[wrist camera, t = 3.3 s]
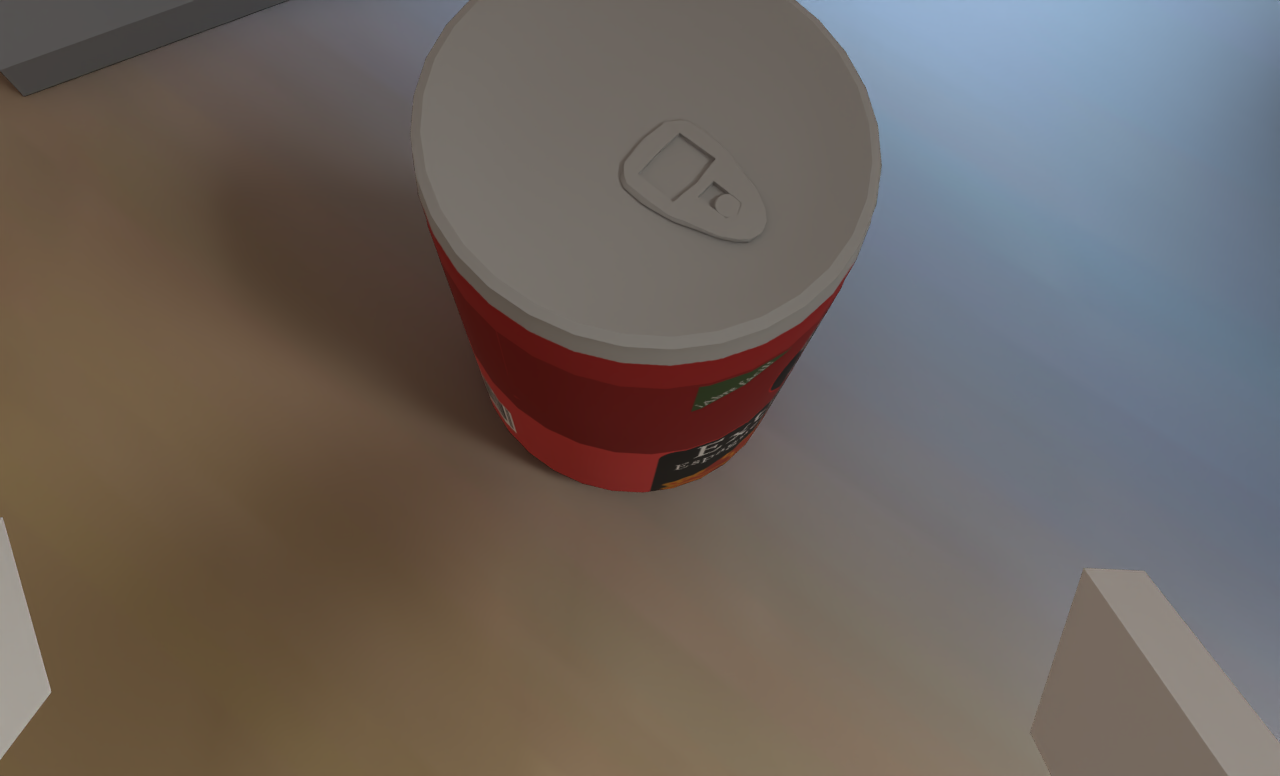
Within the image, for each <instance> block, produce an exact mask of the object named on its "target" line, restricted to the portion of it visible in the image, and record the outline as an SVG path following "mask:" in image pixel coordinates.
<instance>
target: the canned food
mask: <svg viewBox="0 0 1280 776" xmlns="http://www.w3.org/2000/svg"><path fill="white" fill-rule="evenodd" d="M410 138H411V145H412V152H413V153H412V155H413V162H414V169H415V176H416V183H417V190H418V195H419V198H420V201H421V204H422V207H423V210H424V213H425V215H426V219H427V224H428V228H429V231H430V233H431V236H432V239H433V242H434V245H435V247H436V250H437V253H438V256H439V258H440V261H441V264H442V267H443V269H444V272H445V275H446V278H447V280H448V283H449V286H450V289H451V292H452V294H453V297H454V300H455V303H456V305H457V308H458V311H459V314H460V316H461V319H462V322H463V325H464V327H465V330H466V333H467V336H468V339H469V341H470V344H471V347H472V350H473V352H474V355H475V358H476V361H477V363H478V366H479V369H480V372H481V375H482V377H483V380H484V383H485V385H486V388H487V391H488V393H489V396H490V399H491V401H492V404H493V406H494V408H495V410H496V411H497V413H498V414H499V416H500V418H501V419H502V421H503V422H504V424H505V425H506V427H507V429H508V430H509V432H510V433H511V434H512V435H513V436H514V437H515V438H516V439H517V440H518V441H519V442H520V443H521V444H522V445H523V446H524V447H525V448H526V449H527V451H528V452H529V453H531V454H532V455H533V456H535V457H536V458H538V459H539V460H540V461H542V462H543V463H545V464H546V465H547V466H549V467H550V468H552V469H553V470H555V471H557V472H559V473H561V474H563V475H565V476H568V477H570V478H572V479H574V480H576V481H578V482H581V483H583V484H587V485H591V486H595V487H599V488H603V489H607V490H611V491H627V492H649V491H656V490H663V489H670V488H674V487H677V486H680V485H683V484H686V483H689V482H691V481H694V480H697V479H700V478H702V477H703V476H705V475H707V474H708V473H710V472H712V471H713V470H715V469H717V468H718V467H720V466H722V465H723V464H725V463H726V462H727V461H728V460H729V459H730V458H731V457H732V456H733V455H734V454H736V453H737V452H738V451H739V450H740V449H741V448H742V447H743V446H744V445H745V444H746V443H747V441H748V440H749V438H750V437H751V435H752V434H753V432H754V431H755V429H756V428H757V426H758V425H759V424H760V422H761V420H762V419H763V417H764V415H765V414H766V412H767V411H768V409H769V407H770V406H771V404H772V402H773V401H774V399H775V397H776V396H777V394H778V392H779V391H780V389H781V387H782V386H783V384H784V382H785V381H786V379H787V377H788V376H789V374H790V372H791V371H792V369H793V367H794V366H795V364H796V362H797V361H798V359H799V357H800V356H801V354H802V352H803V351H804V349H805V347H806V346H807V344H808V342H809V341H810V339H811V337H812V336H813V334H814V332H815V331H816V329H817V327H818V326H819V324H820V322H821V321H822V319H823V317H824V316H825V314H826V313H827V311H828V309H829V308H830V306H831V304H832V303H833V301H834V299H835V298H836V296H837V294H838V293H839V291H840V289H841V287H842V285H843V282H844V280H845V278H846V276H847V275H848V273H849V271H850V270H851V268H852V266H853V264H854V263H855V261H856V259H857V256H858V254H859V251H860V249H861V246H862V244H863V241H864V238H865V236H866V233H867V231H868V228H869V226H870V223H871V217H872V214H873V212H874V209H875V207H876V203H877V195H878V188H879V181H880V174H881V166H882V164H881V154H880V143H879V132H878V125H877V121H876V118H875V115H874V112H873V109H872V106H871V103H870V99H869V96H868V93H867V90H866V87H865V85H864V84H863V82H862V80H861V78H860V77H859V75H858V73H857V71H856V69H855V68H854V66H853V64H852V62H851V60H850V59H849V57H848V55H847V53H846V52H845V51H844V49H843V48H842V47H841V46H840V45H839V43H838V42H837V41H836V40H835V39H834V37H833V36H832V35H831V34H830V33H829V31H828V30H827V29H826V28H825V27H824V25H823V24H822V23H821V22H820V21H819V20H818V19H817V18H816V17H815V16H813V15H812V14H811V13H810V12H809V11H808V10H806V9H805V8H804V7H803V6H802V5H800V4H799V3H798V2H797V1H796V0H469V2H468V3H467V4H466V5H465V6H464V7H463V8H462V9H461V10H460V11H459V12H458V13H457V14H456V15H455V16H454V17H453V18H452V20H451V21H450V22H449V23H448V24H447V25H446V26H445V28H444V29H443V31H442V33H441V34H440V36H439V38H438V39H437V41H436V43H435V44H434V46H433V48H432V49H431V51H430V53H429V54H428V56H427V58H426V60H425V63H424V66H423V69H422V72H421V75H420V78H419V81H418V84H417V87H416V90H415V93H414V97H413V108H412V120H411V131H410Z"/></svg>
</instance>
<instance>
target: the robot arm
mask: <svg viewBox="0 0 1280 776" xmlns="http://www.w3.org/2000/svg"><path fill="white" fill-rule="evenodd" d="M50 693H51V689H50V685H49V682H48V678H47V674H46V671H45V667H44V664H43V660H42V657H41V653H40V649H39V646H38V642H37V639H36V635H35V631H34V628H33V624H32V621H31V617H30V613H29V610H28V606H27V603H26V599H25V596H24V592H23V588H22V585H21V581H20V578H19V574H18V570H17V567H16V563H15V560H14V556H13V552H12V549H11V545H10V542H9V538H8V535H7V531H6V527H5V524H4V520H3V517H0V759H1V758H2V757H3V755H4V754H5V753H6V751H7V750H8V749H9V747H10V746H11V745H12V744H13V742H14V741H15V740H16V738H17V737H18V736H19V734H20V733H21V732H22V730H23V729H24V728H25V726H26V725H27V724H28V722H29V721H30V720H31V718H32V717H33V716H34V714H35V713H36V712H37V710H38V709H39V708H40V706H41V705H42V704H43V702H44V701H45V700H46V699H47V697H48V696H49V695H50ZM1030 733H1031V735H1032V737H1033V739H1034V741H1035V743H1036V745H1037V747H1038V750H1039V752H1040V754H1041V756H1042V758H1043V760H1044V762H1045V764H1046V766H1047V768H1048V770H1049V772H1050V774H1051V776H1280V743H1279V742H1278V740H1277V739H1276V738H1275V737H1274V735H1273V734H1272V733H1271V731H1270V730H1269V729H1268V728H1267V726H1266V725H1265V724H1264V723H1263V721H1262V720H1261V719H1260V717H1259V716H1258V715H1257V714H1256V712H1255V711H1254V710H1253V709H1252V707H1251V706H1250V705H1249V703H1248V702H1247V701H1246V700H1245V698H1244V697H1243V696H1242V695H1241V693H1240V692H1239V691H1238V689H1237V688H1236V687H1235V686H1234V684H1233V683H1232V682H1231V681H1230V679H1229V678H1228V677H1227V675H1226V674H1225V673H1224V672H1223V670H1222V669H1221V668H1220V667H1219V665H1218V664H1217V663H1216V661H1215V660H1214V659H1213V658H1212V656H1211V655H1210V654H1209V652H1208V651H1207V650H1206V649H1205V647H1204V646H1203V645H1202V644H1201V642H1200V641H1199V640H1198V638H1197V637H1196V636H1195V635H1194V633H1193V632H1192V631H1191V630H1190V628H1189V627H1188V626H1187V624H1186V623H1185V622H1184V621H1183V619H1182V618H1181V617H1180V616H1179V614H1178V613H1177V612H1176V610H1175V609H1174V608H1173V607H1172V605H1171V604H1170V603H1169V602H1168V600H1167V599H1166V598H1165V596H1164V595H1163V594H1162V593H1161V591H1160V590H1159V589H1158V588H1157V586H1156V585H1155V584H1154V582H1153V581H1152V580H1151V579H1150V577H1149V576H1148V575H1147V574H1146V572H1145V571H1136V570H1115V569H1093V568H1084V569H1083V572H1082V575H1081V578H1080V581H1079V584H1078V587H1077V590H1076V593H1075V596H1074V599H1073V602H1072V605H1071V609H1070V612H1069V615H1068V618H1067V621H1066V624H1065V627H1064V630H1063V633H1062V636H1061V639H1060V642H1059V645H1058V648H1057V652H1056V655H1055V658H1054V661H1053V664H1052V667H1051V670H1050V673H1049V676H1048V679H1047V682H1046V685H1045V688H1044V691H1043V694H1042V698H1041V701H1040V704H1039V707H1038V710H1037V713H1036V716H1035V719H1034V722H1033V725H1032V728H1031V731H1030Z"/></svg>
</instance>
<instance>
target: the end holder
mask: <svg viewBox="0 0 1280 776" xmlns="http://www.w3.org/2000/svg"><path fill="white" fill-rule="evenodd" d="M284 1H287V0H0V71H1V72H2V74H3V75H4V76H5V77H6V78H7V79H8V80H9V81H10V82H11V83H12V84H13V85H14V86H15V87H16V88H17V89H18V91H19V92H20V93H21V94H22V95H23V96H27V95H30V94H32V93H35V92H38V91H41V90H43V89H46V88H49V87H52V86H54V85H57V84H60V83H62V82H65V81H68V80H71V79H73V78H76V77H79V76H82V75H84V74H87V73H90V72H93V71H95V70H98V69H101V68H104V67H106V66H109V65H112V64H115V63H117V62H120V61H123V60H126V59H128V58H131V57H134V56H136V55H139V54H142V53H145V52H147V51H150V50H153V49H156V48H158V47H161V46H164V45H167V44H169V43H172V42H175V41H178V40H180V39H183V38H186V37H189V36H191V35H194V34H197V33H199V32H202V31H205V30H208V29H210V28H213V27H216V26H219V25H221V24H224V23H227V22H230V21H232V20H235V19H238V18H241V17H243V16H246V15H249V14H252V13H254V12H257V11H260V10H262V9H265V8H268V7H271V6H273V5H276V4H279V3H282V2H284Z"/></svg>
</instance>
